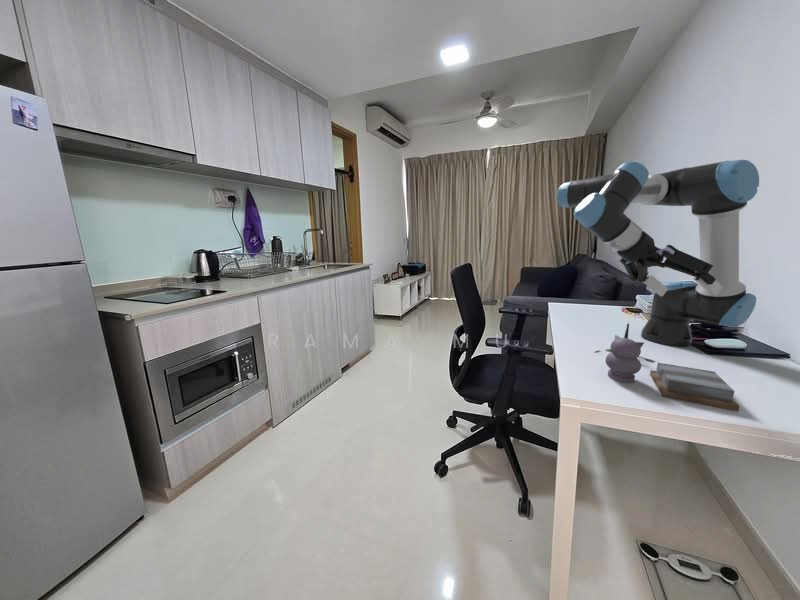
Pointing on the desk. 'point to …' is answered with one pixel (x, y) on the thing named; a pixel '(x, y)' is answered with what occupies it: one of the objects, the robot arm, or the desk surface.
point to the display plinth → (693, 386)
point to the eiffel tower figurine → (627, 338)
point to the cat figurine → (624, 359)
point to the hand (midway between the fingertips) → (688, 292)
